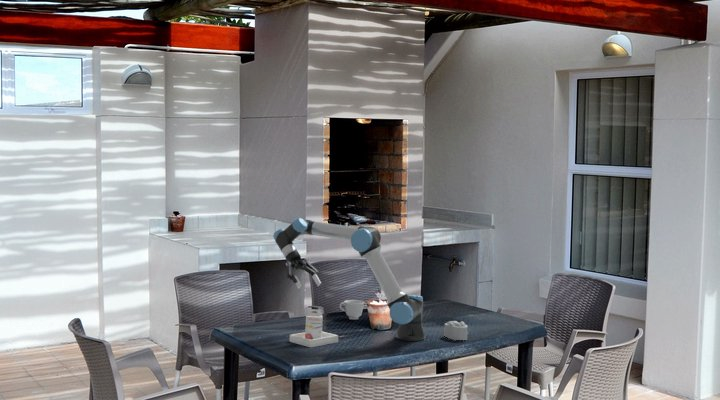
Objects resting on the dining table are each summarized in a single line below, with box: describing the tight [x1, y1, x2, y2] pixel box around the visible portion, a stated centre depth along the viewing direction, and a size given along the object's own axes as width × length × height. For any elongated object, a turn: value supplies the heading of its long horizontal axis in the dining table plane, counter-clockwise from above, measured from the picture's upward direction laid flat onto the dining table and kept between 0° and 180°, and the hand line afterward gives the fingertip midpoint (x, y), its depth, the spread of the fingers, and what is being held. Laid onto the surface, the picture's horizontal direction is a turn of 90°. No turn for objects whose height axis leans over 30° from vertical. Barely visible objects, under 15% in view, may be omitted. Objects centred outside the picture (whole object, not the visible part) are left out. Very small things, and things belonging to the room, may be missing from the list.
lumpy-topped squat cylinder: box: [443, 320, 468, 342], centre depth 477 cm, size 10×13×9 cm
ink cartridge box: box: [304, 308, 323, 339], centre depth 457 cm, size 9×5×15 cm, turn 91°
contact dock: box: [289, 330, 339, 348], centre depth 457 cm, size 16×19×4 cm
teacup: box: [339, 299, 365, 321], centre depth 519 cm, size 12×15×10 cm
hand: (310, 286), depth 467 cm, fingers open, 13 cm apart
